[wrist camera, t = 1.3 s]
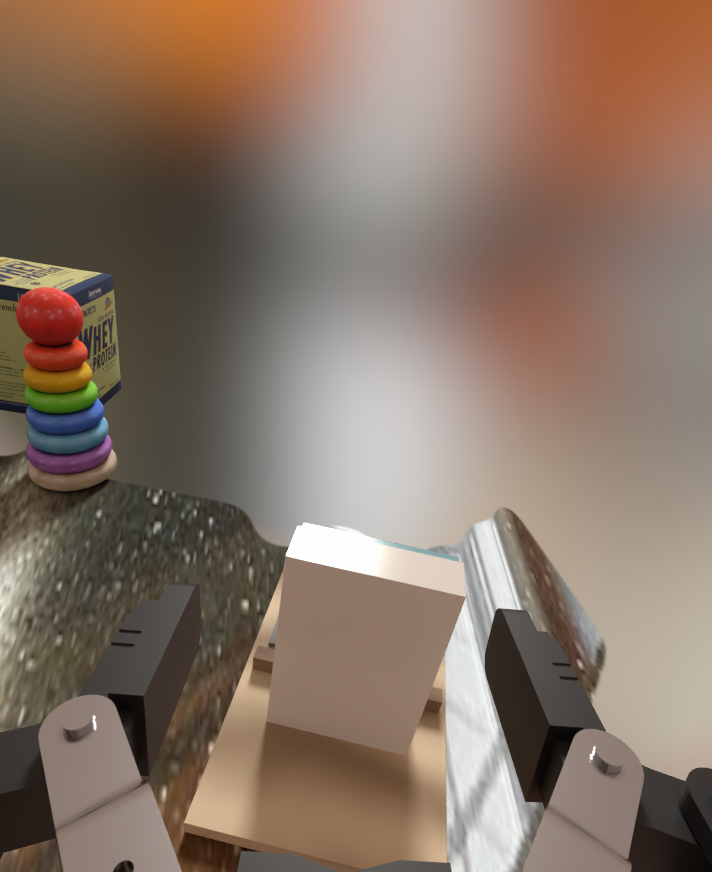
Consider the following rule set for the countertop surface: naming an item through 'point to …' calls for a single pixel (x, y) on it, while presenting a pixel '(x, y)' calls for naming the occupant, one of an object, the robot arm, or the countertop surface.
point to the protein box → (94, 293)
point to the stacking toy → (61, 396)
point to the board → (321, 782)
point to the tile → (361, 636)
